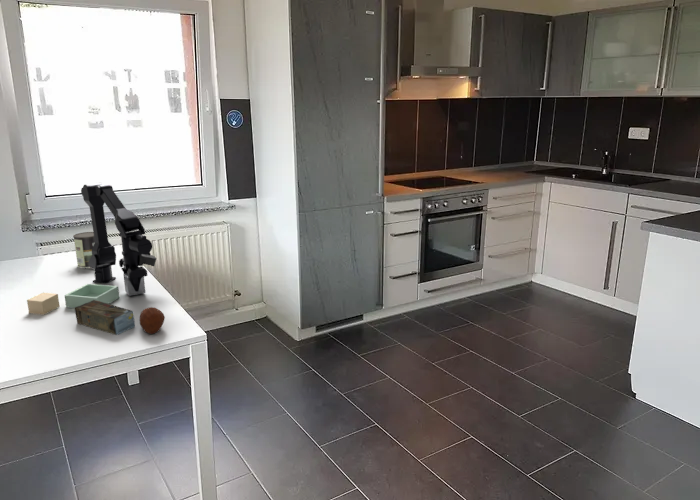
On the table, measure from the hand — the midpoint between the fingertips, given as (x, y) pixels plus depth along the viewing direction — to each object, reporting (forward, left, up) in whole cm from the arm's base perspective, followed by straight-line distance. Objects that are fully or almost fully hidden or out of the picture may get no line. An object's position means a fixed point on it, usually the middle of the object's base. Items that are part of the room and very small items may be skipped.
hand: (135, 288), depth 203 cm
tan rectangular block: (+21, -22, -2) cm, 30 cm away
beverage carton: (+28, +7, -3) cm, 29 cm away
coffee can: (-28, -40, -2) cm, 49 cm away
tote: (+11, -10, -2) cm, 15 cm away
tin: (0, 0, -1) cm, 1 cm away
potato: (+28, +24, -2) cm, 37 cm away
